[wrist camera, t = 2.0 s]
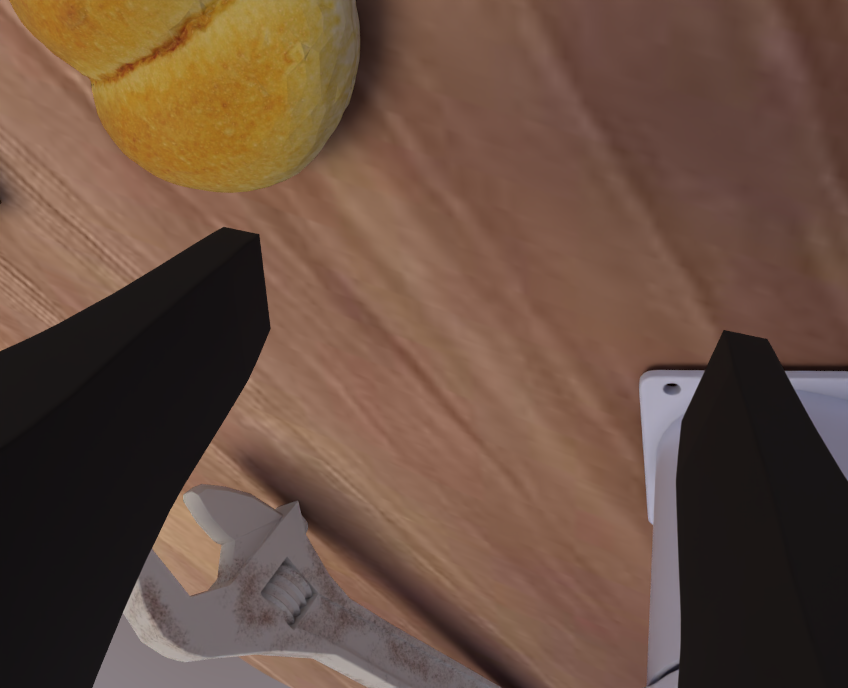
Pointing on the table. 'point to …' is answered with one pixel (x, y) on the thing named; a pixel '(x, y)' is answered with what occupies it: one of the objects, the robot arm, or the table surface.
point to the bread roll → (210, 80)
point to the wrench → (277, 603)
